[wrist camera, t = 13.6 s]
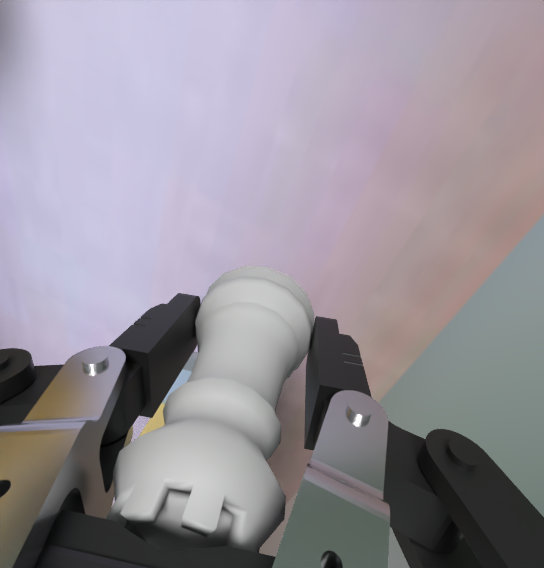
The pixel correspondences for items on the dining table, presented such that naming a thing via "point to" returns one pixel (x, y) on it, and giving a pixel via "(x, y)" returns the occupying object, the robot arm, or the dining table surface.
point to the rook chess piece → (220, 423)
